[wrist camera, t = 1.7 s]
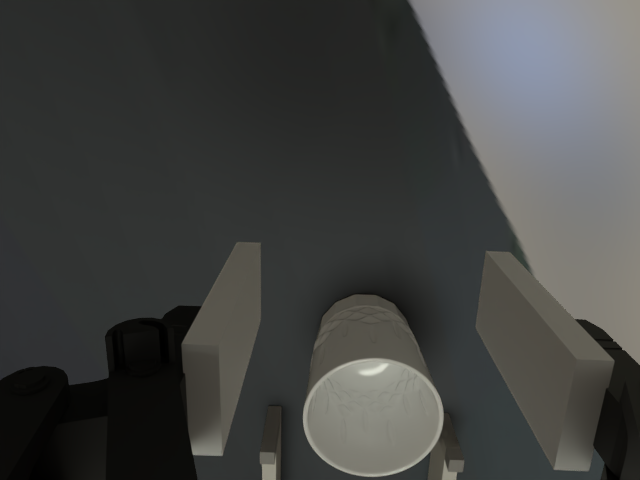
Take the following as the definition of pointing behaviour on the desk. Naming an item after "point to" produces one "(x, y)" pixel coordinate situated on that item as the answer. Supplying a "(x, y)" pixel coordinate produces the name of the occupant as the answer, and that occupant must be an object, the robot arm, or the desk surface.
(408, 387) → the white cup
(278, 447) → the open u-shaped frame
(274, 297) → the desk surface
